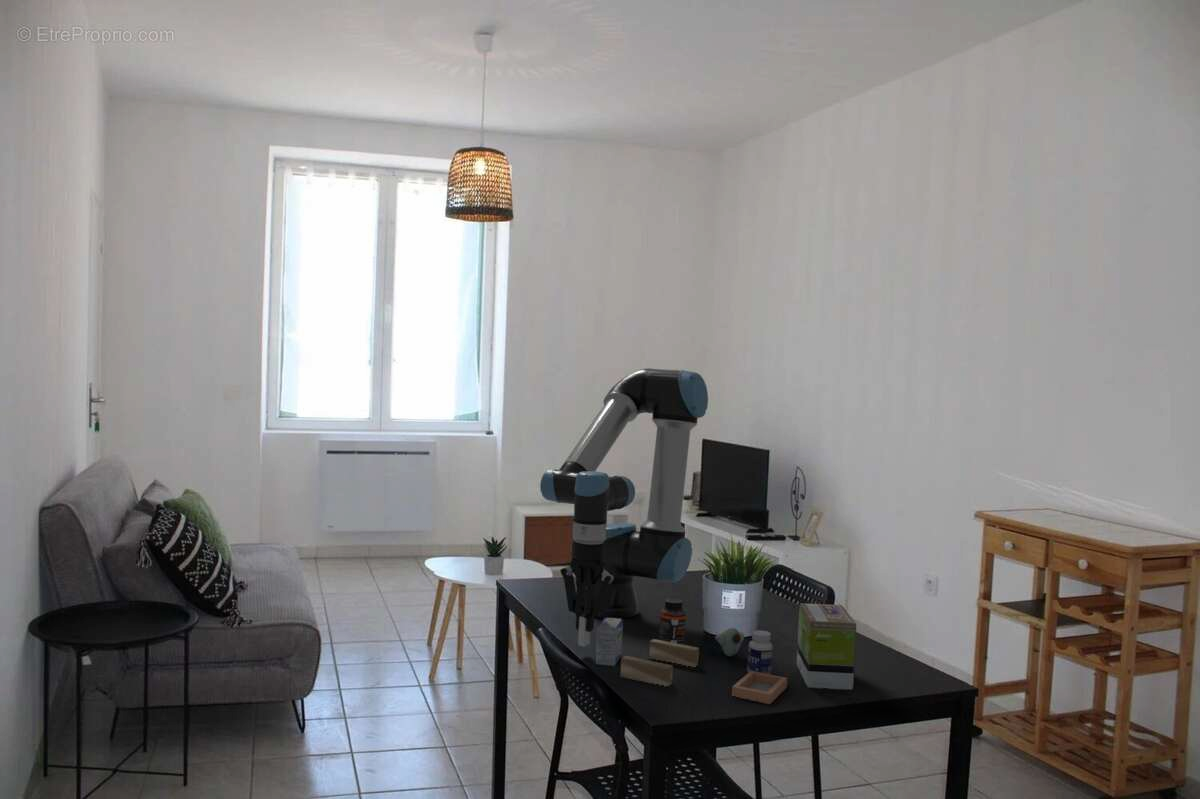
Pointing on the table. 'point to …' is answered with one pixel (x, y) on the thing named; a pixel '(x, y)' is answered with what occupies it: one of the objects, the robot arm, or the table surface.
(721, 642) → the pale green rounded piece
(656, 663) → the parallel beige slabs
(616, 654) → the medicine box
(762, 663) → the pill bottle
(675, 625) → the supplement bottle
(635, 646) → the table surface
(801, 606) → the tea box
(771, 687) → the tray
